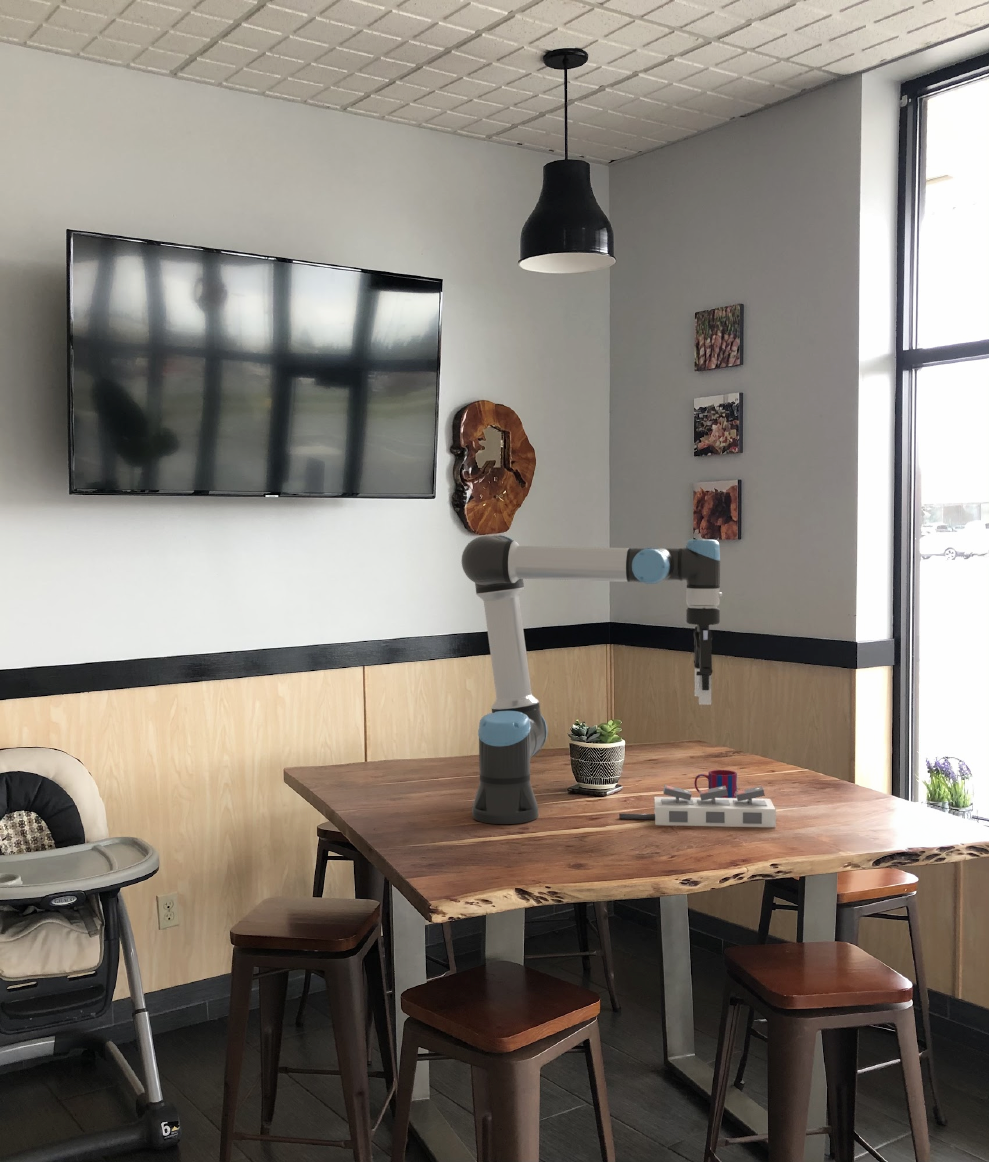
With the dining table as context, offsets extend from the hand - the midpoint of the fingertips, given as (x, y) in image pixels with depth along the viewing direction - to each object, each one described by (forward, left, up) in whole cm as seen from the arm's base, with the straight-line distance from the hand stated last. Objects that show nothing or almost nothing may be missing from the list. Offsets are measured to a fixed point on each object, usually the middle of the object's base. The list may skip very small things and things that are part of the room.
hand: (702, 700), depth 258 cm
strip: (-2, -7, -26) cm, 27 cm away
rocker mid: (+2, -7, -20) cm, 21 cm away
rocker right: (+10, -7, -20) cm, 23 cm away
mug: (+4, +13, -26) cm, 30 cm away
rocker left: (-6, -7, -20) cm, 22 cm away
